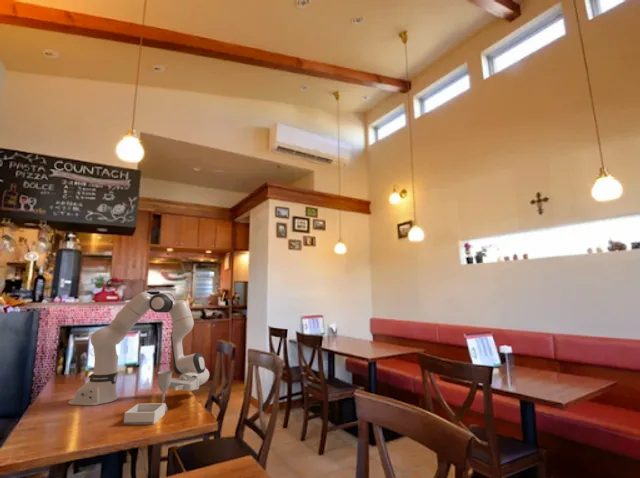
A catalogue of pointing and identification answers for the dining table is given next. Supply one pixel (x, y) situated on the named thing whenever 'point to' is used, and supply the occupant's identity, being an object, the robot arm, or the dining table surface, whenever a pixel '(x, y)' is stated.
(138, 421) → the walled box
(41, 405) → the dining table surface
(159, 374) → the chalice
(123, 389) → the dining table surface
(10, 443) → the dining table surface
